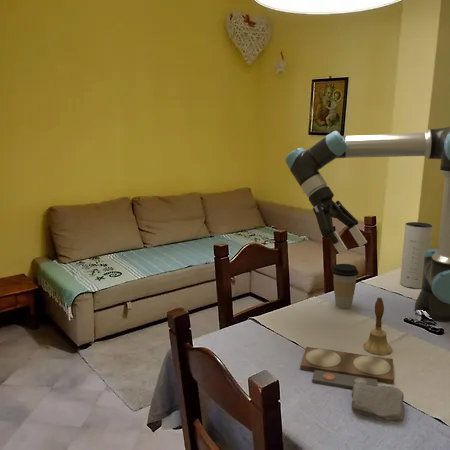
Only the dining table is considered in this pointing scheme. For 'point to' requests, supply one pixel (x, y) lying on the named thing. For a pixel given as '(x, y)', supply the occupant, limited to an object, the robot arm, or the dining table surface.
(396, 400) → the stone block
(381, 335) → the hand bell
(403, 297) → the dining table surface
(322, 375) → the pattern card
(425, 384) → the dining table surface
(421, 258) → the white tall cylinder
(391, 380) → the board
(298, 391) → the dining table surface
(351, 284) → the coffee cup
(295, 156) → the robot arm
